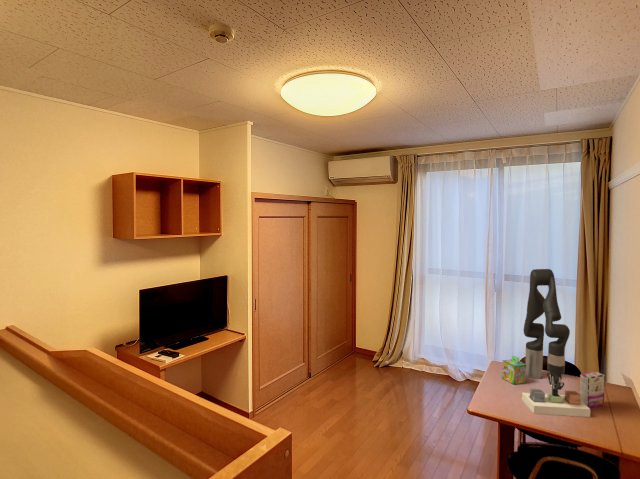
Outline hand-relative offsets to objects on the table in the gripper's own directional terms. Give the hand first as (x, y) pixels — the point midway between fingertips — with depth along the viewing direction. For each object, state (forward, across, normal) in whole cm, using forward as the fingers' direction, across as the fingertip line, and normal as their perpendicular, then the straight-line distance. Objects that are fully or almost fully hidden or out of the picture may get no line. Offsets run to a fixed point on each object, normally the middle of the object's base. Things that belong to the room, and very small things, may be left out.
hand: (554, 395), depth 187 cm
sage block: (+6, 0, 0) cm, 6 cm away
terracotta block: (+4, 0, +9) cm, 10 cm away
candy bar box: (+7, -6, +21) cm, 23 cm away
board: (+7, 0, 0) cm, 7 cm away
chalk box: (+7, -31, -8) cm, 33 cm away
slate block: (+4, 0, -8) cm, 9 cm away
